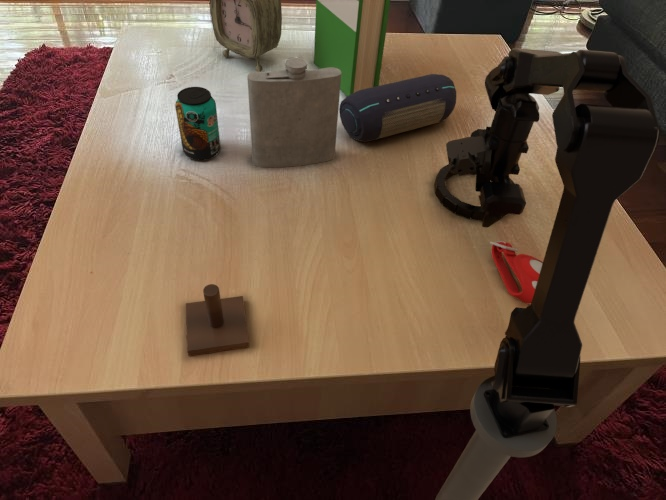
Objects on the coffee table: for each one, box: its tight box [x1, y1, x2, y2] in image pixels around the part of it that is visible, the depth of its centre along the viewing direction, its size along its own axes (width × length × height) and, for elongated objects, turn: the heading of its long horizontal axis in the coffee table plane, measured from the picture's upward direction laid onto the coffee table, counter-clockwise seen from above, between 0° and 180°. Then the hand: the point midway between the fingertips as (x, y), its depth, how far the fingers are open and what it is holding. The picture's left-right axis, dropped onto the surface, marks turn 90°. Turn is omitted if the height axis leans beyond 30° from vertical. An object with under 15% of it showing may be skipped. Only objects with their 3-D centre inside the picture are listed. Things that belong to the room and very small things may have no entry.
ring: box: [433, 163, 516, 222], centre depth 96 cm, size 15×15×2 cm
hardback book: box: [313, 0, 391, 97], centre depth 115 cm, size 18×7×24 cm, turn 28°
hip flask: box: [246, 56, 341, 168], centre depth 93 cm, size 16×4×20 cm, turn 103°
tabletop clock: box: [209, 0, 283, 72], centre depth 117 cm, size 14×9×25 cm, turn 53°
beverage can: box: [174, 86, 221, 162], centre depth 96 cm, size 7×7×12 cm
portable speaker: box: [338, 73, 457, 143], centre depth 106 cm, size 25×10×10 cm, turn 118°
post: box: [185, 283, 250, 357], centre depth 70 cm, size 8×8×8 cm
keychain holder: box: [489, 240, 543, 304], centre depth 81 cm, size 12×4×10 cm
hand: (481, 208), depth 91 cm, fingers open, 9 cm apart
